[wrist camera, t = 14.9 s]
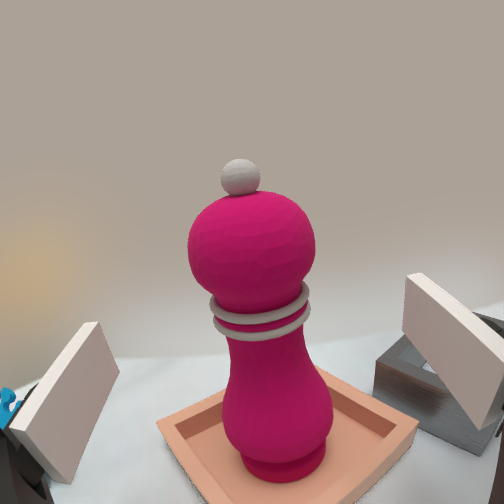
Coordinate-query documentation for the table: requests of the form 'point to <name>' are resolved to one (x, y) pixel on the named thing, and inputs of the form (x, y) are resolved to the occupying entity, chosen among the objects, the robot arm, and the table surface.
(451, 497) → the table surface
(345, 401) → the terracotta tray
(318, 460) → the pepper mill
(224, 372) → the table surface
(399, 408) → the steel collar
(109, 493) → the table surface
